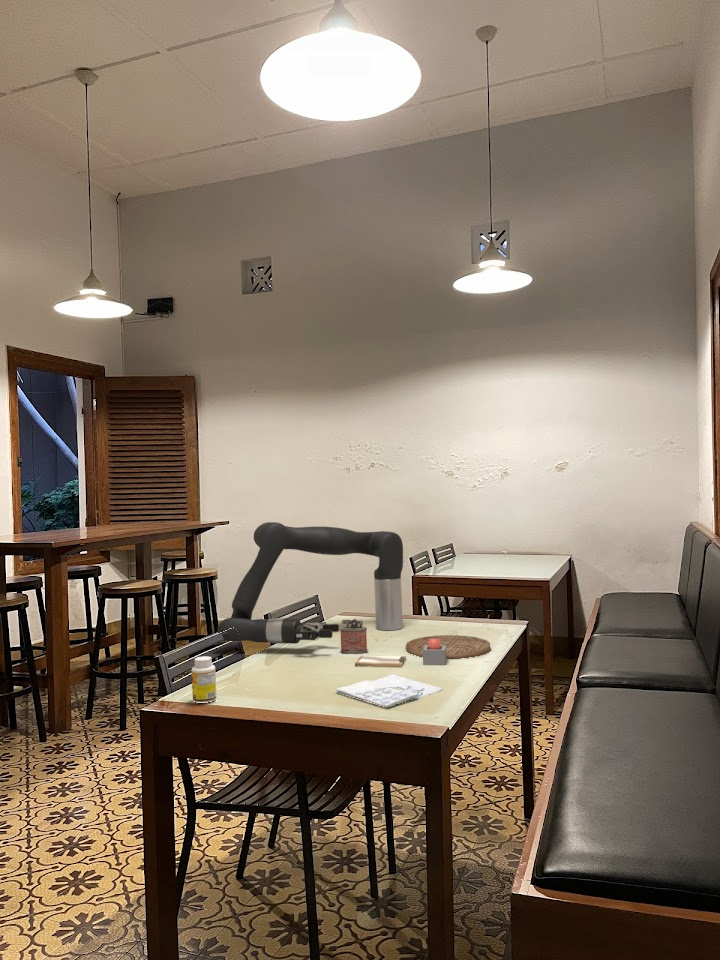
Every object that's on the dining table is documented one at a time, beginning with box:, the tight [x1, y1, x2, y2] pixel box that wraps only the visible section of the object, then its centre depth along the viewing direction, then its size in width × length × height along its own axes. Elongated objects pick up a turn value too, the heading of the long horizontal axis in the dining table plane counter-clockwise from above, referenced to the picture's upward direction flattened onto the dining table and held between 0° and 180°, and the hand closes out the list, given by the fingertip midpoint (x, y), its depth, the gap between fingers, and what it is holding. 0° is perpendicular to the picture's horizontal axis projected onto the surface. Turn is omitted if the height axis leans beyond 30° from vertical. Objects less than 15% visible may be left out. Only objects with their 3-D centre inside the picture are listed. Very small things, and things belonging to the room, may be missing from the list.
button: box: [429, 639, 440, 649], centre depth 203 cm, size 3×3×4 cm
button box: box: [422, 645, 447, 666], centre depth 203 cm, size 6×6×4 cm
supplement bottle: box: [191, 655, 217, 703], centre depth 173 cm, size 6×6×10 cm
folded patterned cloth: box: [334, 673, 444, 708], centre depth 176 cm, size 19×20×2 cm
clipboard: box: [354, 655, 407, 668], centre depth 204 cm, size 9×13×1 cm
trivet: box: [405, 634, 491, 660], centre depth 218 cm, size 25×25×2 cm
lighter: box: [339, 618, 369, 655], centre depth 217 cm, size 8×3×10 cm, turn 84°
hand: (335, 630), depth 219 cm, fingers open, 8 cm apart
